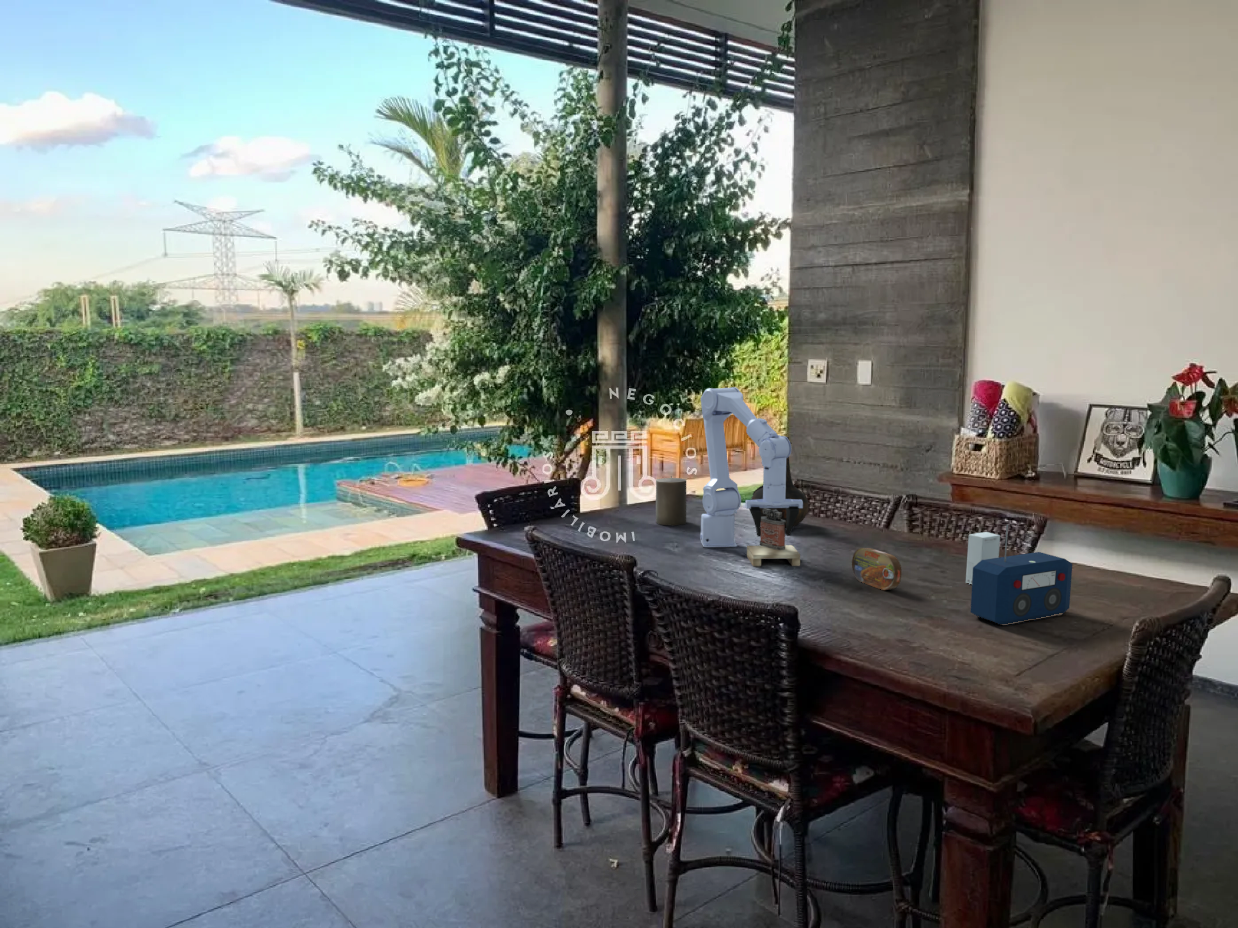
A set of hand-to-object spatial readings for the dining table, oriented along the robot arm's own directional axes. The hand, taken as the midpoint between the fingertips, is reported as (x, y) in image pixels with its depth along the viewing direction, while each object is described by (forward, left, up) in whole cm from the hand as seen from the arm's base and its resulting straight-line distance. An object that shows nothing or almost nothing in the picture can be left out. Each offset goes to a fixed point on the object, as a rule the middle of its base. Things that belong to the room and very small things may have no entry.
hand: (773, 535), depth 228 cm
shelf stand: (0, 0, -7) cm, 7 cm away
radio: (+43, -47, -7) cm, 64 cm away
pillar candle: (-23, +49, -7) cm, 55 cm away
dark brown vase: (+10, +43, -7) cm, 45 cm away
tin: (+20, -23, -7) cm, 31 cm away
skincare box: (+45, -23, -7) cm, 51 cm away
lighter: (0, +3, -4) cm, 5 cm away
